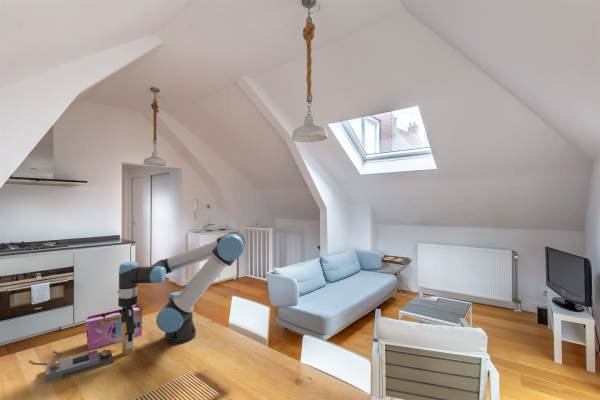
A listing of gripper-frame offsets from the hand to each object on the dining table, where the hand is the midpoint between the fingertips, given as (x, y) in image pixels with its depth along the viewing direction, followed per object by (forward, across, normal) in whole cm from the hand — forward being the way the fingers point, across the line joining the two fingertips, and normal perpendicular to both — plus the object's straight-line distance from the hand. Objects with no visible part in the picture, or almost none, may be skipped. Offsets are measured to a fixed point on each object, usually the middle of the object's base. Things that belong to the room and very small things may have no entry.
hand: (127, 342), depth 130 cm
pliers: (+6, -13, -25) cm, 29 cm away
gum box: (+6, -19, -2) cm, 20 cm away
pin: (+5, 0, 0) cm, 5 cm away
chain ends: (+5, 0, -17) cm, 18 cm away
